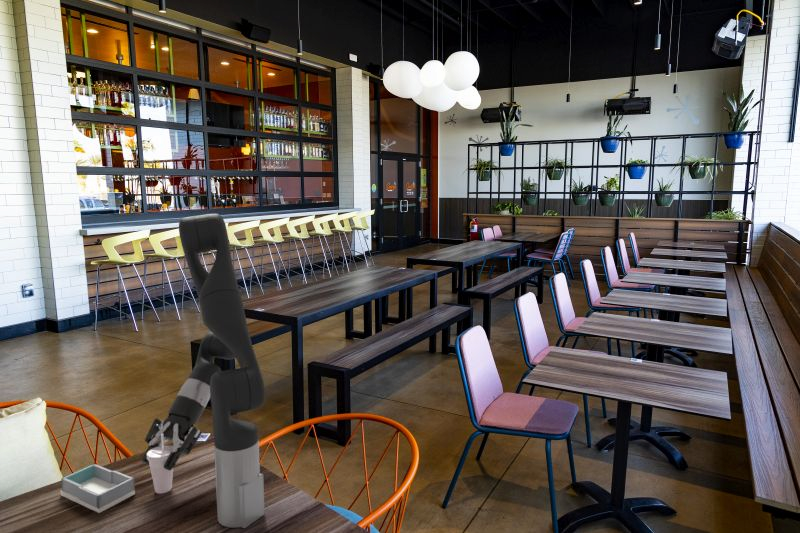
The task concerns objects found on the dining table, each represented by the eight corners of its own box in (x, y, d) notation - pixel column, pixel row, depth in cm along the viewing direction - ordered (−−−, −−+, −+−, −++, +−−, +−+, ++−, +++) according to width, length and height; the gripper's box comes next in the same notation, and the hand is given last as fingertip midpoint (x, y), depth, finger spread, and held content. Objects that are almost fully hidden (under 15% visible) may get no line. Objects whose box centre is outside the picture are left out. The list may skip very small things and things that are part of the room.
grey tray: (135, 493, 127) (134, 478, 126) (99, 513, 119) (97, 496, 119) (97, 478, 134) (96, 463, 133) (60, 495, 126) (59, 479, 126)
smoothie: (170, 496, 126) (167, 440, 124) (143, 496, 126) (139, 440, 124) (182, 482, 132) (179, 428, 130) (156, 482, 132) (153, 428, 130)
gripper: (161, 390, 136) (123, 454, 127) (205, 398, 130) (169, 467, 121) (178, 402, 141) (144, 465, 132) (221, 411, 136) (188, 477, 126)
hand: (156, 466), depth 127 cm, fingers closed on smoothie, 6 cm apart
